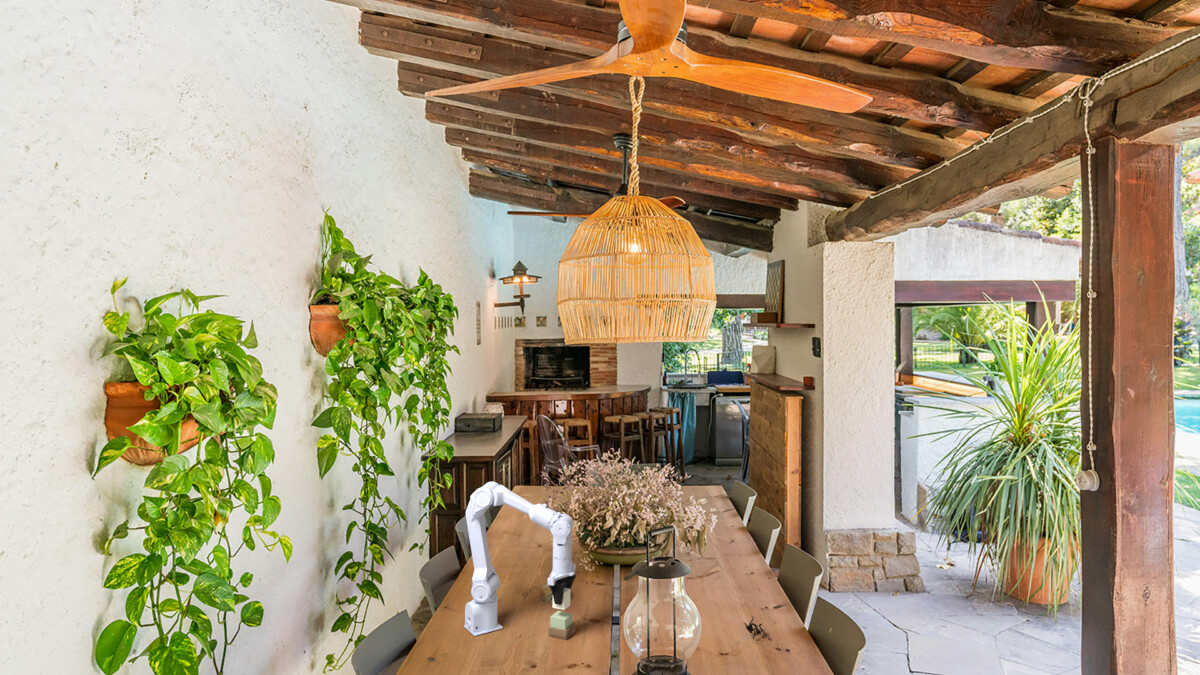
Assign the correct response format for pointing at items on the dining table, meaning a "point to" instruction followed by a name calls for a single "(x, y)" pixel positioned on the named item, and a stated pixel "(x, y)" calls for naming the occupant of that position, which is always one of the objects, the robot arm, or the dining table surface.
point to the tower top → (561, 620)
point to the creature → (755, 628)
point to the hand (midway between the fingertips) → (561, 601)
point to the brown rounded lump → (546, 593)
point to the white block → (565, 600)
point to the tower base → (561, 632)
